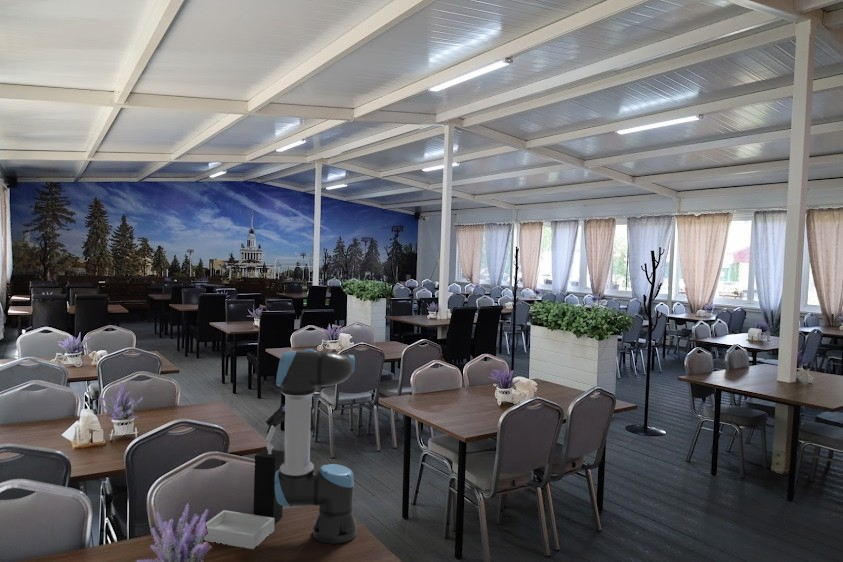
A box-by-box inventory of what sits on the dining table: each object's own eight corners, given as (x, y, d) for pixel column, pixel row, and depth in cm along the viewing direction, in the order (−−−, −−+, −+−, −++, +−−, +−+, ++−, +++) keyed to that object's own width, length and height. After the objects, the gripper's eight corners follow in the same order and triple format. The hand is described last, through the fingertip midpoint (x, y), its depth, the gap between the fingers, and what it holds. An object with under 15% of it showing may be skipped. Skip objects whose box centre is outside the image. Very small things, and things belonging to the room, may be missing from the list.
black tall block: (273, 526, 211) (275, 448, 210) (252, 523, 212) (254, 446, 211) (282, 517, 218) (284, 442, 217) (262, 514, 220) (264, 440, 219)
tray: (274, 530, 208) (274, 518, 208) (253, 549, 194) (253, 535, 194) (223, 522, 212) (223, 510, 212) (199, 540, 199) (200, 526, 199)
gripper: (333, 404, 239) (316, 452, 225) (276, 398, 245) (257, 445, 231) (328, 394, 233) (311, 443, 219) (271, 388, 239) (250, 435, 225)
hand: (283, 444), depth 225 cm, fingers open, 13 cm apart
